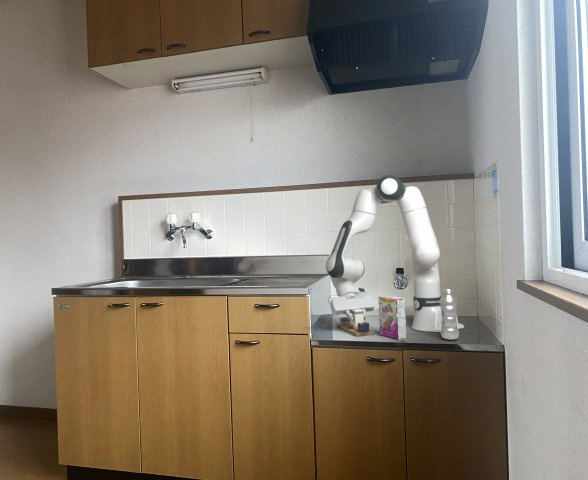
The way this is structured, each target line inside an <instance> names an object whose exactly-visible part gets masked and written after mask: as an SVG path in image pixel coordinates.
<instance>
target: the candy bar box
mask: <svg viewBox="0 0 588 480" xmlns="http://www.w3.org/2000/svg"><path fill="white" fill-rule="evenodd" d="M378 311H379V312H378V314H379V315H378V316H379V317H378V318H379V319H378V320H379V335H380V336H383V337H387V338H390V339H394V340H397V341H401V340H405V339H407V338H408V337H407V316H406V315H407V313H406V312H407V311H406V298H403V297H397V296H392V295H382V296H378Z"/></svg>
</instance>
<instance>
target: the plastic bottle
mask: <svg viewBox="0 0 588 480" xmlns="http://www.w3.org/2000/svg"><path fill="white" fill-rule="evenodd" d="M442 294H443V295H442V296H441V299H440V308H441V315H442V327H441V332H440V336H441V338H442V339H444V340H449V341H454V340H457V339H458V338H459V335H460V332H459V329H458V328H457V320H456V315H457V309H458V301H457V298H456V297H455V296H454V288H452V287H451V288H450V287H448V288H445V287H444V288H443V289H442Z"/></svg>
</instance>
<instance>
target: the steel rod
mask: <svg viewBox="0 0 588 480" xmlns="http://www.w3.org/2000/svg"><path fill="white" fill-rule="evenodd" d="M344 325H347V326H349V327H351V328H354V325H352V321H351V322H349V321H344ZM369 330H370V323H369V322H367V321H366V322H365V321H364V322H363V323H358V332H360V333H363V332H369Z"/></svg>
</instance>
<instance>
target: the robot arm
mask: <svg viewBox="0 0 588 480" xmlns="http://www.w3.org/2000/svg"><path fill="white" fill-rule="evenodd" d="M353 202H354V203H353V206H352V211H351V214H350V216H349V218H348V219H347V220H346V221H344V222H343V223H342V224H341V227H340V230H339V232H338V234H337V238H336V240H335V243H334V245H333V248H332V250H331V253H330V255H329V257H328V258H327V260H326V263H325V270H326V272H327V274H328V275H329V276H330V280H331V283H332V285H333V287H334V289H335V292H336V295H331V296H330V295H329V297H328V298H327V301H328V303H329V304H330V305H329V306H330V310H331V313H332V314H333V315H335V316H339V315H345V317H348V318H350V321H351V322H352V321H354V320H355V318H354V316H352V310H355V309H362V310H363V311H364V321H365V320H366V319H367V316H366V313H369V312H373V311H374V309H375V307H376V303H375V301H374V299H373V298H372V296H371V295H370V294H369V293H368V289H366V288H364V287H360V286H357V285H354V283H357V282H358V281H359V280H360V279H361V278H362V277H363V276H364V274H365V265H364V262H363V260H361V259H358V258H354V257H348V256H345V253H346V250H347V248H348V245H349V243H350V240H351V239H352V237H354V236H356V235H359V234H364V233H367V232H369V231H370V230H371V229H372V228H373V226H374V225H375V222H376V219H377V213H378V209H379V206H380V205H381V204H388V203H389V204H390V203H393V202H395V203H397V204H398V207H399V209H400V214H401V217H402V220H403V223H404V224H403V225H404V228H405V231H406V234H407V237H408V241H409V244H410V247H411V256H412V257H411V260H412V270H413V271H412V276H413V293H414V295H413V300H412V301H413V308H414V311H413V320H412V325H411V329H413V330H415V331H421V332H435V333H441V327H442V315H441V308H440V299H441V297H442V296H441V281H440V280H441V278H440V269H439V260H440V258H441V249H440V247H439V242H438V240H437V237H436V234H435V231H434V228H433V225H432V223H431V218H430V216H429V215H430V214H429V212H428V208H427V204H426V202H425V198H424V196H423V195H422V192H421V190H420V189H419V188H418V187H417V186H413V185H408V186H406V185H405V184H404V183H403V182H402V181H401V180H400V179H399V178H398V177H397V176H395V175H390V174H387V175H384V176H382V177H381V178H379V180H378V181H377V183H376V186H375V187H374V188H362V189H360V190H359V191H358V193H357V195H356V197H355V200H354V201H353ZM456 320H457V328H458V330H459V329H464V328H465V325H464V324H462V323H459V320H458V315H457V314H456Z"/></svg>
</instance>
